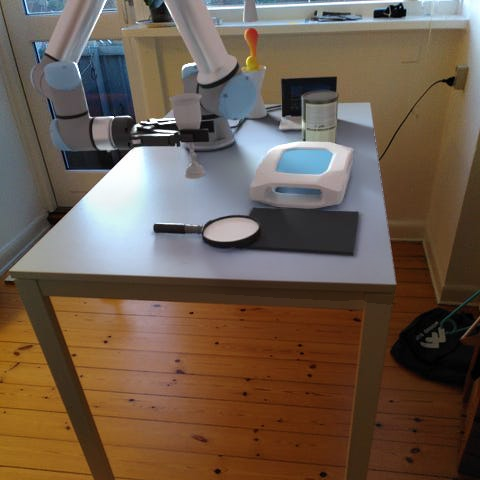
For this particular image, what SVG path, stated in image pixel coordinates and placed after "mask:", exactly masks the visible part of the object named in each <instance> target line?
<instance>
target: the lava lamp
mask: <svg viewBox="0 0 480 480" xmlns="http://www.w3.org/2000/svg"><path fill="white" fill-rule="evenodd" d="M243 2H244V3H243V14H242V15H243V16H242V22H243V23H254V22H259V17H258V11H257V6H256V1H255V0H244V1H243ZM244 32H245V33H244V39H245V41H246V43H247V45H248V47H249V50H250V56H248V57H247V58H246V61H245V63H246V66H243V67H240V68H241V70H242V73H243V74H245V75H248V76H249V77H250V78H251V79H252V80H253V81H254V83H255V85H256V89H257V97H256V100H255V103H254V107H253V109H252V110H251V112H250V113H249V114H248V115H247V116H246V117H244V118H245V119H261V118H265V117H267V115H268V111H267V110H266V108H267V107H266V106H265V103H264V100H263V99H264V98H263V97H262V93H261V91H262V86H263V83H264V80H265V74H266V72H267V67H266V66H265V65H259V62H258V58H257V45H258V39H259V33H258V31H257V29H256V28H253V27H249V28H247V29H246V30H245V31H244Z"/></svg>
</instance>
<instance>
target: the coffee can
mask: <svg viewBox="0 0 480 480" xmlns="http://www.w3.org/2000/svg"><path fill="white" fill-rule="evenodd" d="M339 98H340V94H339V92H334V91H327V90H319V91H311V92H307V93H304V94H303V95H302V96H301V99H302V130H301V142H331V143H335V144H337V138H338V137H337V134H338V131H337V130H338V113H339V111H338V109H339Z"/></svg>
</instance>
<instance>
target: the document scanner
mask: <svg viewBox="0 0 480 480" xmlns="http://www.w3.org/2000/svg"><path fill="white" fill-rule="evenodd" d="M353 161H354V148H353V147H351V146H350V147H349V146H345V145H342V144H339V143H336V144H335V143H331V142H302V140H301V141H299V140H298V141H294V142H293V141H292V142H289V143H285V144H280V145H276V146H274V147H272V148H270V149H269V150H267V152H266V154H265V156H264V157H263V158H262V159H261V162H260V163H259V164H258V166H257V167H256V171H255V173H254V177H253V179H252V182H251V184H250V186H249V197H250V199H251V200H252V201H254V202H259V203H262V204H266V205H268V206H272V207H275V208H284V209H308V210H316V209H320V208H325V207H330V206H336V205H340V204H341V203H342V202H343V200H344V197H345V194H346V191H347V188H348V183H349V180H350V176H351V170H352V166H353ZM278 188H299V189H300V188H301V189H311V190H319V191H320V192H321V193H320V194H319V193H318V194H301V193H298V194H297V193H281V192H278V191H277V189H278Z"/></svg>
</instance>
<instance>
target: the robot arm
mask: <svg viewBox="0 0 480 480" xmlns="http://www.w3.org/2000/svg"><path fill="white" fill-rule="evenodd" d="M106 2H107V0H66V2H65V5H64V7H63V10H62V11H61V14H60V17H59V18H58V21H57V23H56V25H55V28H54V30H53V32H52V34H51V37H50V39H49V41H48V44H47V47H46V49H45V51H44V53H43V55H42V57H41V60H40V62H39V63H36V64H35V65H34V66H33V67H32V68H31V70H30V75H29V76H30V77H29V78H30V82H31V85H32V86H33V88H34V90H36V91H37V93H39V95H41V96H42V97H44V98H47V99H48V100H50V101H51V102H52V105H53V108H54V112H55V115H56V118H54V119H52V121H51V122H50V125H49V131H50V138H51V141H52V144H53V146H54V147H55V148H56V149H58V150H59V151H63V152H64V151H66V152H73V153H74V152H76V153H77V152H88V151H89V152H91V151H106V153H110V152H112V151H115V150H116V151H117V150H119V151H132V150H134V149H135V148H144V147H176V148H179V147H181V146H182V145H181V143H184V147H185V148H186V149H187V150H189V148H188V147H189V142H193V144H194V146H195V148H194V152H195V151H196V152H212V151H218V150H222V149H226V148H228V147H230V146H231V145H232V144H234V142H235V138H234V133H233V130H234V129H236V128H238V127H239V126H240V124H241V123H242V121H243V119H244V118H245V117H246V116H247V115H248V114H249V113H250V112H251V110H252V109H253V107H254V103H255V100H256V97H257V89H256V85H255V83H254V81H253V80H252V79H251V78H250V77H249V76H248V75H245V74H243V73H242V70H241V68H242V67H241V66H240V64H239V62H238V59H237V58H236V56H234V55H231V54H228V51H227V49H226V47H225V44H224V42H223V40H222V37H221V36H220V34H219V32H218V29H217V27H216V25H215V22H214V20H213V18H212V15H211V13H210V11H209V9H208V7H207V5H206V2H205V0H163V3H164V4H165V6H166V8H167V11H168V12H169V14H170V16H171V19H172V20H173V22H174V24H175V27H176V29H177V30H178V32H179V34H180V36H181V38H182V40H183V42H184V44H185V46H186V48H187V51H188V53H189V54H190V56H191V58H192V60H193V62H190V63H187V64H184V65H183V66H182V68H181V81H182V87H183V88H182V89H183V94H185V93H195V94H200V95H201V98H200V110H201V123H200V128H199V129H181V130H180V131H179V129H178V127H177V125H176V123H175V120H174V117H173V118H148V119H146V121H140V122H139V123H136V122H135V121H134V119H133V117H131V116H129V115H117V116H115V117H114V116H111V115H110V116H93V117H92V116H91V115H90V111H89V107H88V103H87V98H86V94H85V89H84V85H83V79H82V78H83V77H82V76H81V73H80V71H79V67H78V63H79V61H80V59H81V58H82V57H81V56H82V54H83V52H84V50H85V48H86V46H87V43H88V41H89V39H90V37H91V35H92V32H93V30H94V28H95V26H96V24H97V21H98V20H99V17H100V14H101V13H102V11H103V8H104V6H105V4H106ZM265 108H266V111H267V110H272V109H276V108H281V104H277V105H271V106H267V107H265ZM230 120H231V121H237V123H236V124H235V125H230V123H229V121H230ZM232 129H233V130H232Z"/></svg>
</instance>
